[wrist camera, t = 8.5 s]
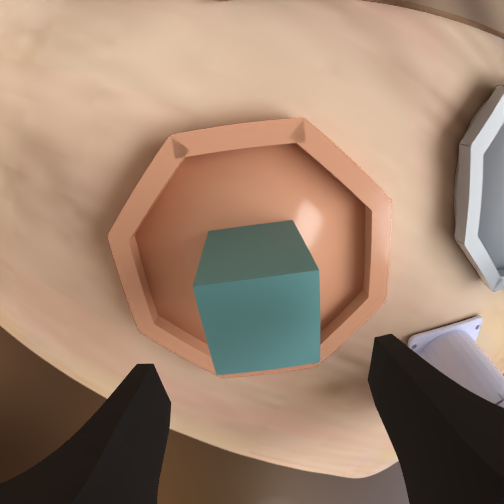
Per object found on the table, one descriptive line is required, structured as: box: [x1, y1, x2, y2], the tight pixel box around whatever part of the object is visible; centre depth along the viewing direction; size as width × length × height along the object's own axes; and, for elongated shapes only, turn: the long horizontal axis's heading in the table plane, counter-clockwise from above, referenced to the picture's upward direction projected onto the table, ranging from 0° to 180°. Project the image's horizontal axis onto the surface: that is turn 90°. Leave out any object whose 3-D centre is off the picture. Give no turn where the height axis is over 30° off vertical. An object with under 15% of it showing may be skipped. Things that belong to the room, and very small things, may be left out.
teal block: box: [193, 220, 320, 375], centre depth 14 cm, size 4×4×6 cm
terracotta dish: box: [108, 118, 392, 378], centre depth 17 cm, size 15×15×2 cm
